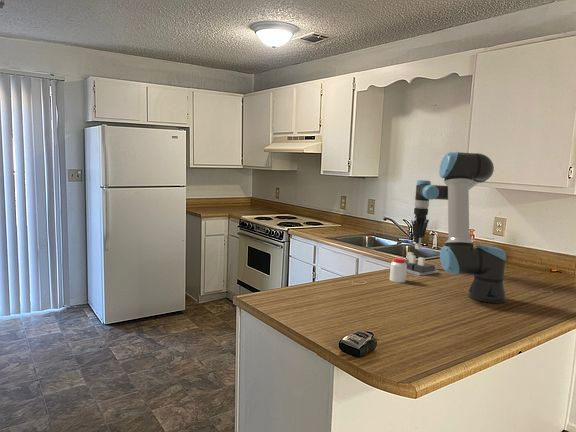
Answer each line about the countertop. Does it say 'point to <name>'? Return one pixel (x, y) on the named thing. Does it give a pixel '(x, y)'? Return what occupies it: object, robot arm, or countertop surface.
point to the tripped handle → (409, 254)
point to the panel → (420, 268)
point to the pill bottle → (398, 270)
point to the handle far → (421, 261)
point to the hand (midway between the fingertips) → (417, 248)
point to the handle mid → (412, 259)
